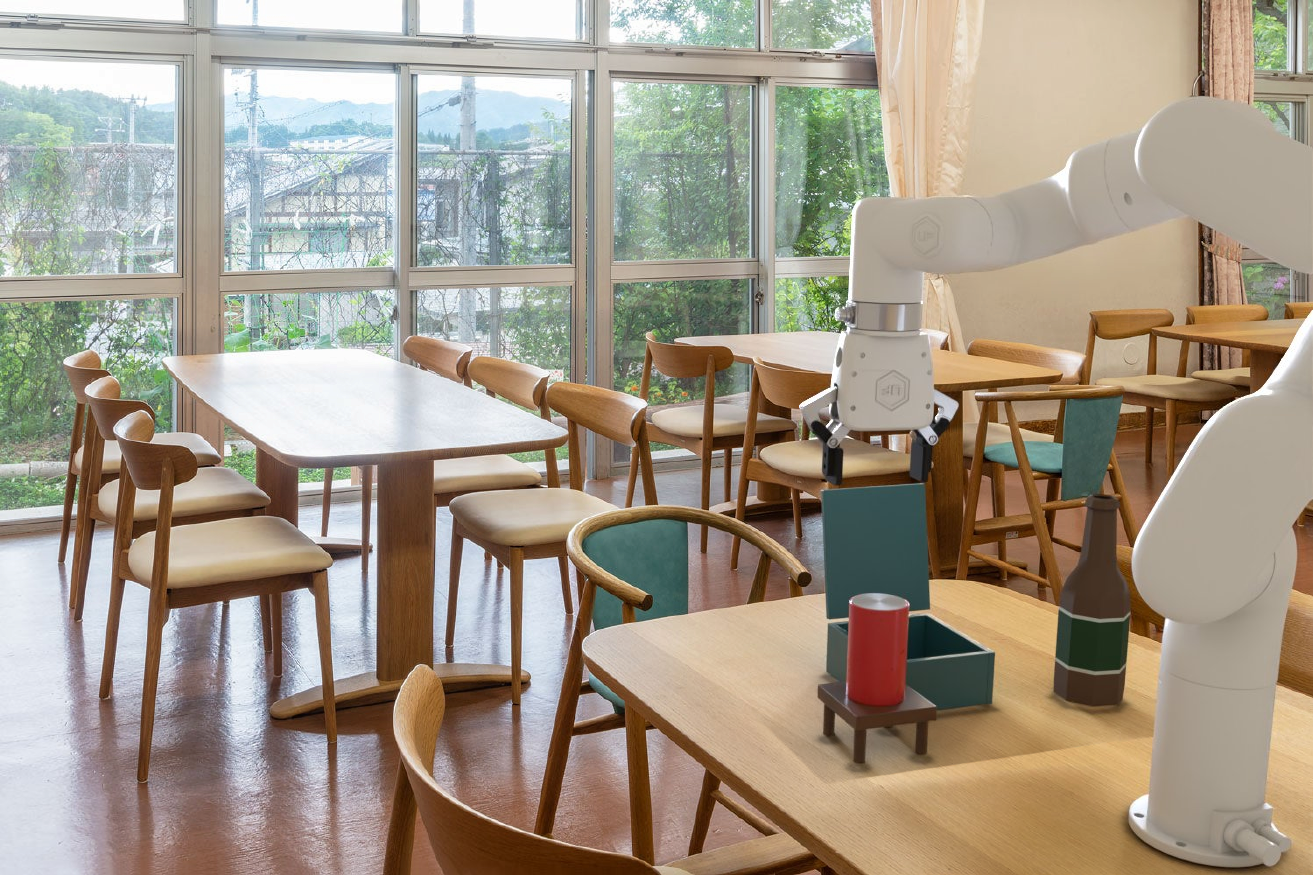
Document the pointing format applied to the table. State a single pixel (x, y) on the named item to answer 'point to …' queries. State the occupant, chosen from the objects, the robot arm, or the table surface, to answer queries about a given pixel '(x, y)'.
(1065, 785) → the table surface
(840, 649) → the teal open box
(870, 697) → the soda can
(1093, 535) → the beer bottle
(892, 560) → the lid
